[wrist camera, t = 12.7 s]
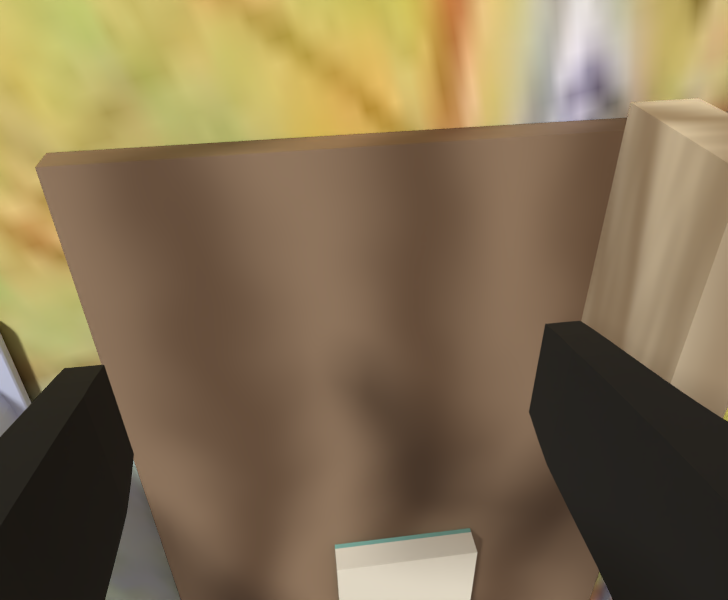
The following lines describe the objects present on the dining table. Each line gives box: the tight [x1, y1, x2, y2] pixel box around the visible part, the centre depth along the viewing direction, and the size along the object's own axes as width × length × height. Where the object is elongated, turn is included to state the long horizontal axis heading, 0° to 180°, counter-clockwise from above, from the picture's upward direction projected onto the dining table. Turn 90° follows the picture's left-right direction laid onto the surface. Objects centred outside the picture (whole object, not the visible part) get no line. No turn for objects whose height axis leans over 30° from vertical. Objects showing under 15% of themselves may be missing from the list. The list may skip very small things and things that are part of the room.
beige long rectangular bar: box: [581, 98, 728, 418], centre depth 18 cm, size 2×11×5 cm, turn 2°
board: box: [35, 112, 728, 600], centre depth 25 cm, size 20×28×1 cm
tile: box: [335, 528, 477, 600], centre depth 29 cm, size 6×1×8 cm
